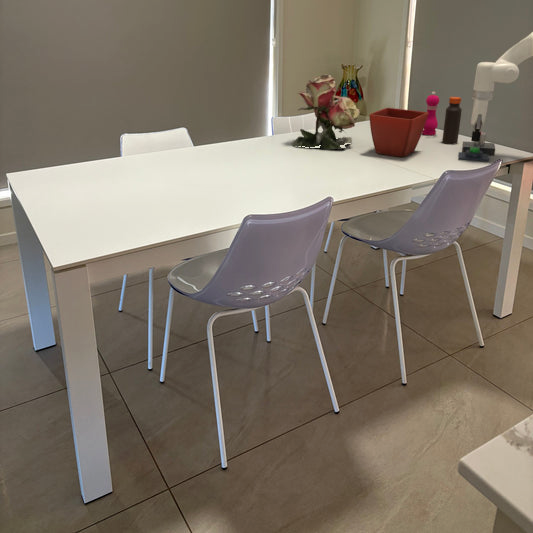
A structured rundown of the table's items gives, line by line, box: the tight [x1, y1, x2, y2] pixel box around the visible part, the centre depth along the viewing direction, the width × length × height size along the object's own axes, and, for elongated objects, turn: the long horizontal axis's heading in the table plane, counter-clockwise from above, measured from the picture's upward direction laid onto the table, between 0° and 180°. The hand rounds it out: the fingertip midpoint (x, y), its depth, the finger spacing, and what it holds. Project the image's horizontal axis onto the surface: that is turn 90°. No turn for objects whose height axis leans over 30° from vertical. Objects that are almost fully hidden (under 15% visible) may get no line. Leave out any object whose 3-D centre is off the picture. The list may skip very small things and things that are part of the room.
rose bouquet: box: [292, 73, 361, 151], centre depth 264 cm, size 26×29×30 cm
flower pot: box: [369, 107, 428, 158], centre depth 250 cm, size 19×19×17 cm
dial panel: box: [461, 141, 496, 156], centre depth 254 cm, size 13×10×3 cm
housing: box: [457, 150, 490, 163], centre depth 244 cm, size 12×9×3 cm
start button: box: [470, 147, 479, 153], centre depth 243 cm, size 4×4×2 cm
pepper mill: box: [421, 91, 440, 137], centre depth 281 cm, size 7×7×20 cm
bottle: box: [441, 96, 463, 145], centre depth 265 cm, size 7×7×20 cm
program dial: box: [473, 131, 487, 146], centre depth 252 cm, size 4×4×5 cm
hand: (475, 141), depth 241 cm, fingers closed
